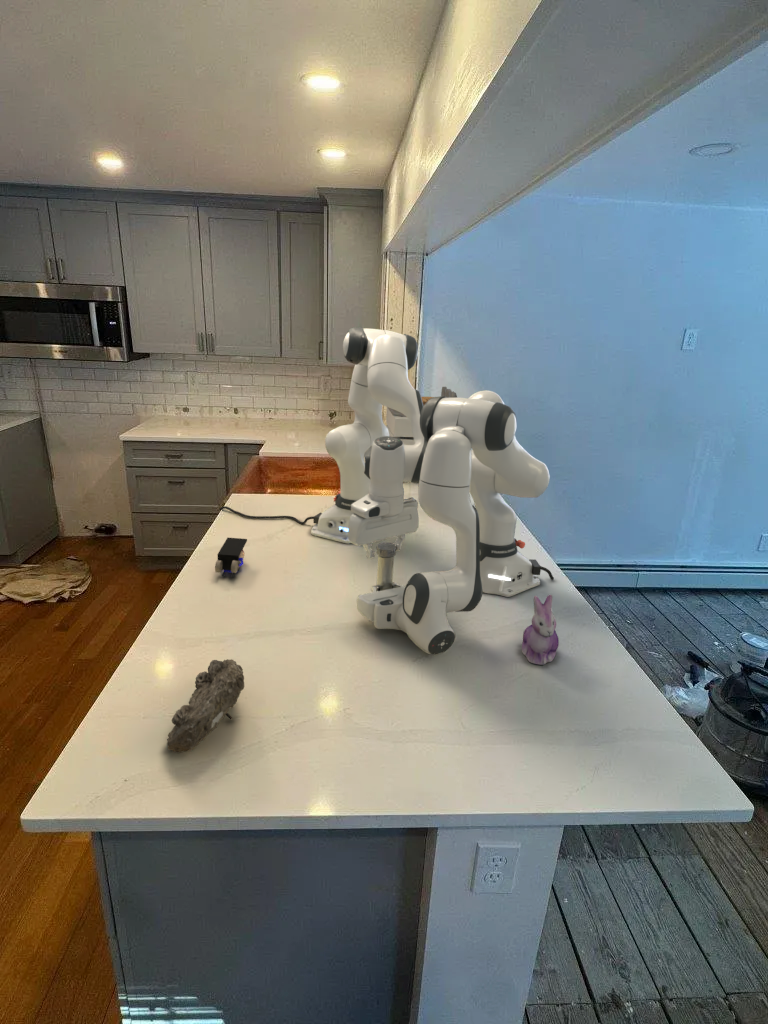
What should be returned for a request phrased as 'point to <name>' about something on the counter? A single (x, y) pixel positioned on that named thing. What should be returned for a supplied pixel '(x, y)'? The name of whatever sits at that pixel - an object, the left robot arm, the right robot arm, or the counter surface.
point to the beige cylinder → (385, 572)
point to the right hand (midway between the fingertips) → (382, 586)
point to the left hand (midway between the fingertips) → (383, 553)
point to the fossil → (206, 705)
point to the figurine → (541, 634)
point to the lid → (386, 550)
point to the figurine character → (230, 556)
